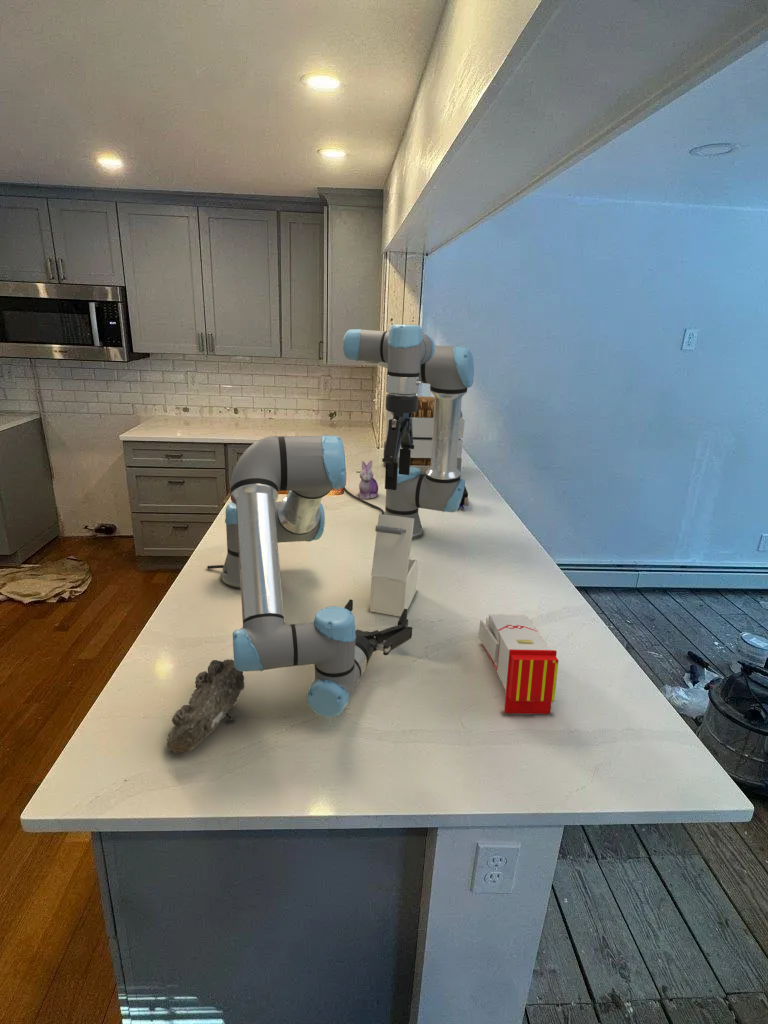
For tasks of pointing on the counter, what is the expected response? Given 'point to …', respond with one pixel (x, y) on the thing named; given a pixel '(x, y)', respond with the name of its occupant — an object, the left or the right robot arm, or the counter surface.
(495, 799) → the counter surface
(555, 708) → the counter surface
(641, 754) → the counter surface
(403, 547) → the lid
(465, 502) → the figurine character
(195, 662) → the counter surface
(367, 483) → the figurine
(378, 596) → the chest
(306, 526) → the left robot arm
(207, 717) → the fossil
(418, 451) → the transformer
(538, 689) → the toy
